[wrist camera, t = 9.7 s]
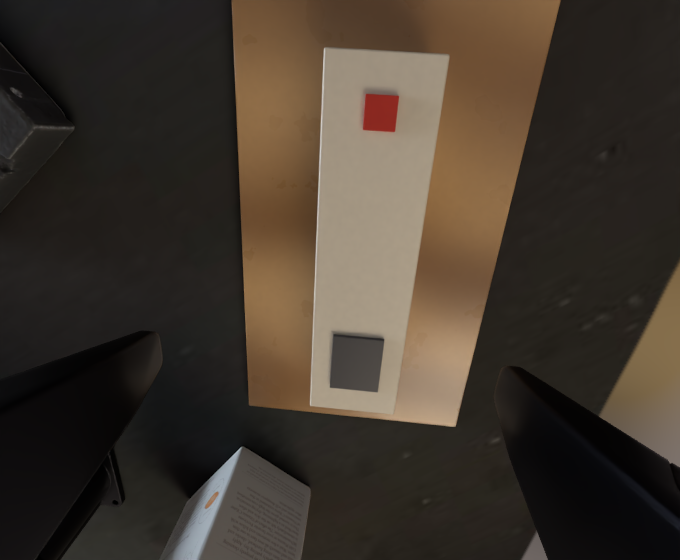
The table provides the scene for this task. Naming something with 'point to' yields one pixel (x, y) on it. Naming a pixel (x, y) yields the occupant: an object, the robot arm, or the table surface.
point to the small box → (243, 515)
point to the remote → (370, 218)
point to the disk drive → (25, 127)
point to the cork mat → (444, 191)
